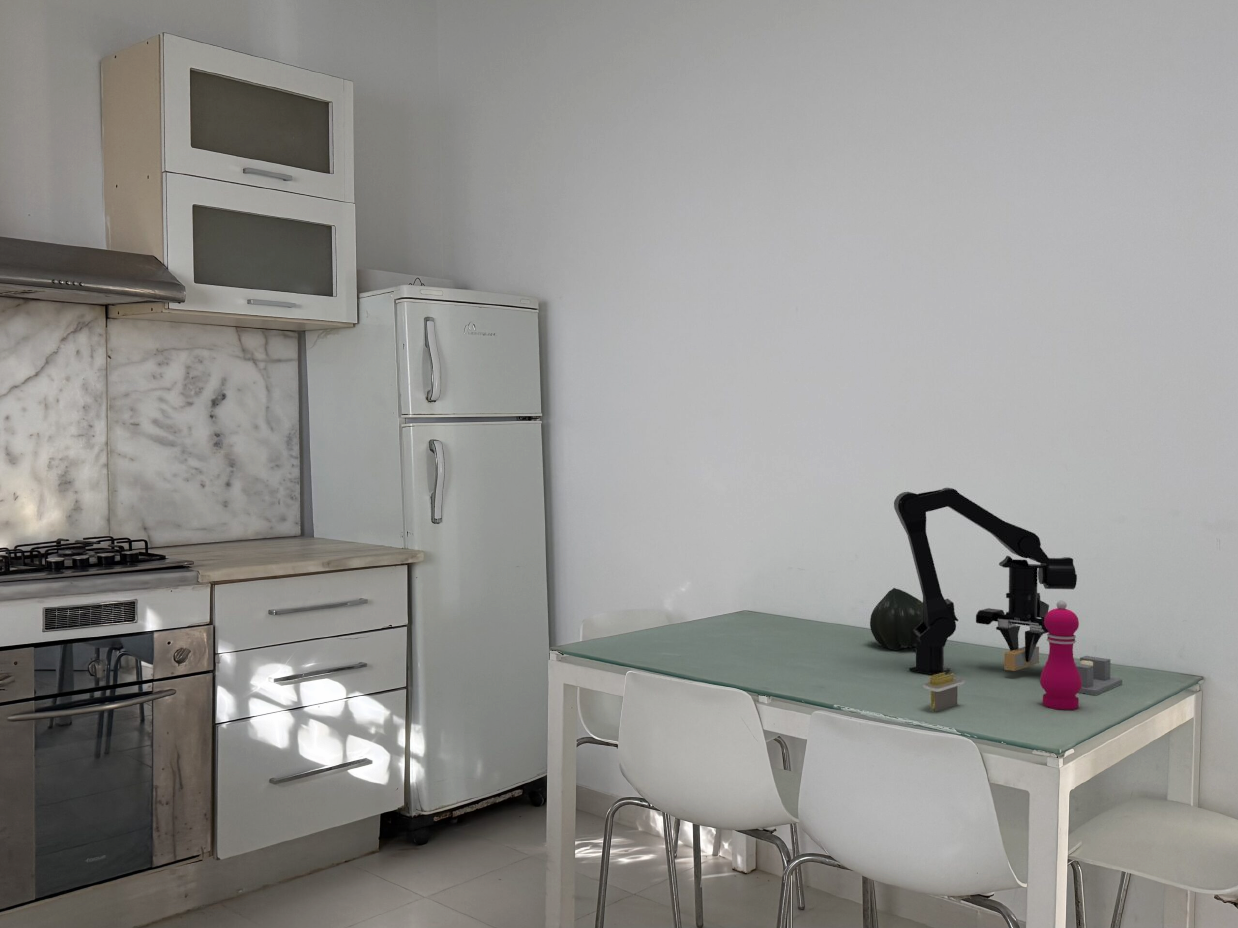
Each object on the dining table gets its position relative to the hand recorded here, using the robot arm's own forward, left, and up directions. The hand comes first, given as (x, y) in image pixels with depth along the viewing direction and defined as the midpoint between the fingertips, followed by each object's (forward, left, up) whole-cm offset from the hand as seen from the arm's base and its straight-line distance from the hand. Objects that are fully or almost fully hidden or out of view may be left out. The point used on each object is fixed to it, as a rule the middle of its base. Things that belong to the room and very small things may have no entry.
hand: (1022, 660), depth 220 cm
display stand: (-1, -14, -3) cm, 14 cm away
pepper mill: (-21, -17, -3) cm, 27 cm away
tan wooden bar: (0, 0, -1) cm, 1 cm away
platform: (-38, -2, -4) cm, 39 cm away
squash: (+7, +33, -3) cm, 34 cm away
